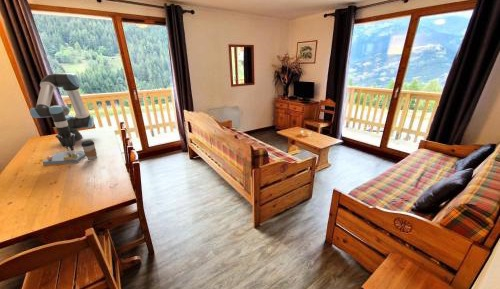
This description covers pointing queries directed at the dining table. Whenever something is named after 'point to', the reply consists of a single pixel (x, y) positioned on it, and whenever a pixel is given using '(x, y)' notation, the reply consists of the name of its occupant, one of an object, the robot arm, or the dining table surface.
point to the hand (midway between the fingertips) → (72, 154)
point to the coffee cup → (89, 150)
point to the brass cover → (70, 157)
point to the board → (60, 160)
